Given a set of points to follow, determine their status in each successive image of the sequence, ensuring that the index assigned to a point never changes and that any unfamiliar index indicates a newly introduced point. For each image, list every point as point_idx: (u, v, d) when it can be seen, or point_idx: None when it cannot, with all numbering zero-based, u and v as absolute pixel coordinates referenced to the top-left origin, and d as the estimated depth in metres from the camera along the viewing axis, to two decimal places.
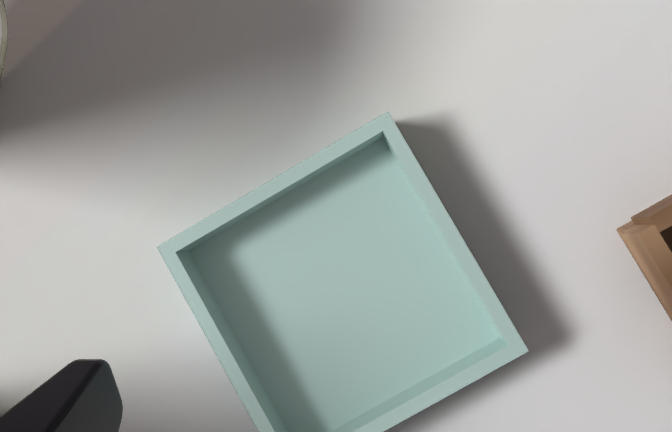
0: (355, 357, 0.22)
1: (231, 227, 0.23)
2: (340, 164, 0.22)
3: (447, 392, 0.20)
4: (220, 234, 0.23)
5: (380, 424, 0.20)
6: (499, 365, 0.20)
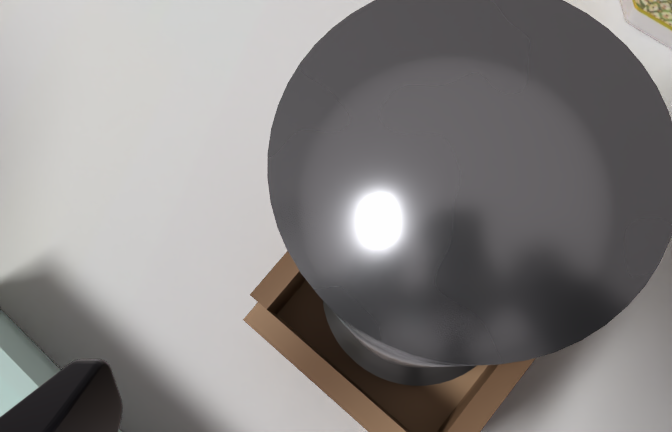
0: None
1: None
2: None
3: None
4: None
5: None
6: None
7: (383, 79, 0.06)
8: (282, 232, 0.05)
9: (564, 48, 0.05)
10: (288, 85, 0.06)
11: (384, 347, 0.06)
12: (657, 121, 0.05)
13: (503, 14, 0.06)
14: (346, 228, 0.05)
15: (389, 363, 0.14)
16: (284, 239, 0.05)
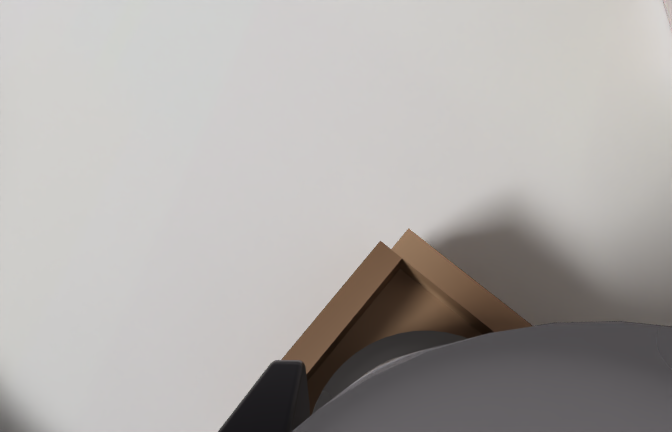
0: None
1: None
2: None
3: None
4: None
5: None
6: None
7: None
8: None
9: None
10: None
11: None
12: None
13: None
14: None
15: None
16: None
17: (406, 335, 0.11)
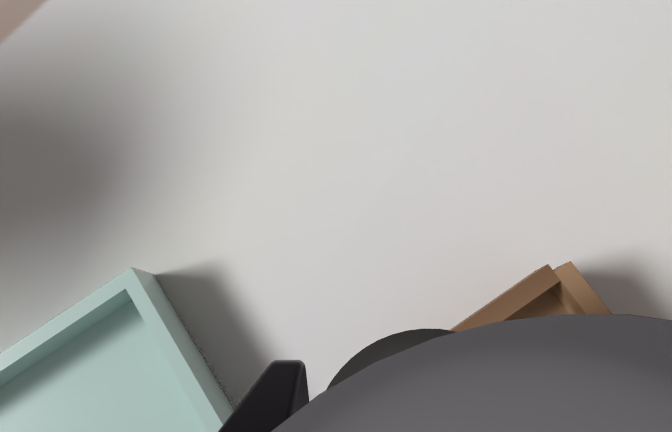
0: None
1: None
2: (99, 324, 0.21)
3: None
4: None
5: None
6: None
7: None
8: None
9: None
10: None
11: None
12: None
13: None
14: None
15: None
16: None
17: (414, 333, 0.11)
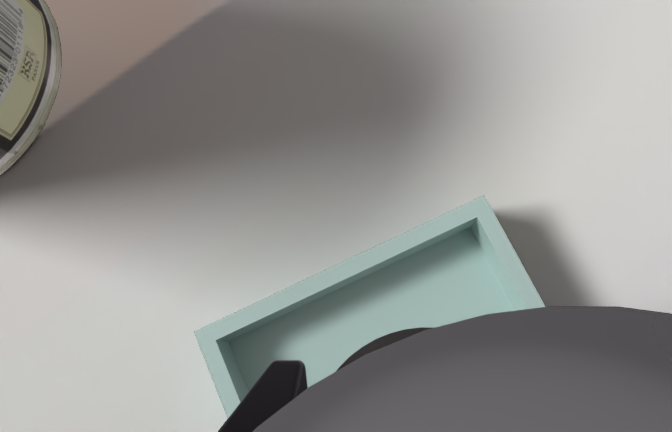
0: None
1: (282, 317, 0.19)
2: (418, 254, 0.19)
3: None
4: (268, 324, 0.19)
5: None
6: None
7: None
8: None
9: None
10: None
11: None
12: None
13: None
14: None
15: None
16: None
17: (412, 331, 0.11)
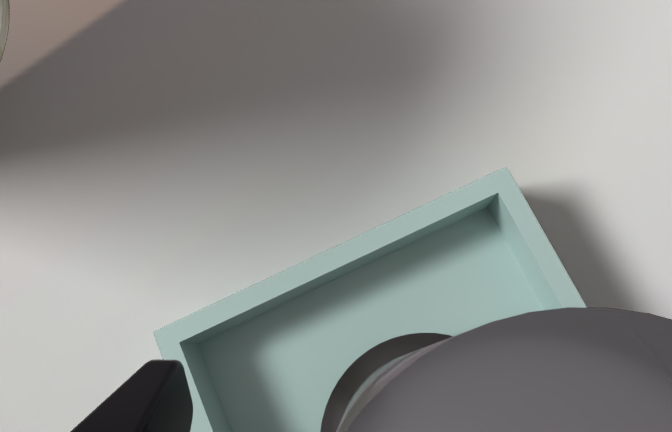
0: None
1: (263, 315, 0.16)
2: (425, 239, 0.16)
3: None
4: (246, 324, 0.16)
5: None
6: None
7: None
8: None
9: None
10: None
11: None
12: None
13: (670, 379, 0.03)
14: None
15: None
16: None
17: (413, 336, 0.12)
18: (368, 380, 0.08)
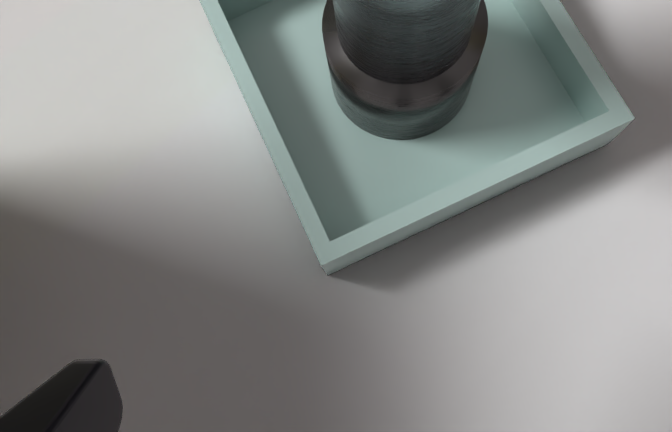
0: (413, 145, 0.18)
1: None
2: None
3: (531, 162, 0.16)
4: (265, 5, 0.20)
5: (445, 196, 0.16)
6: (598, 134, 0.16)
7: None
8: None
9: None
10: None
11: None
12: None
13: None
14: None
15: (378, 81, 0.16)
16: None
17: None
18: None
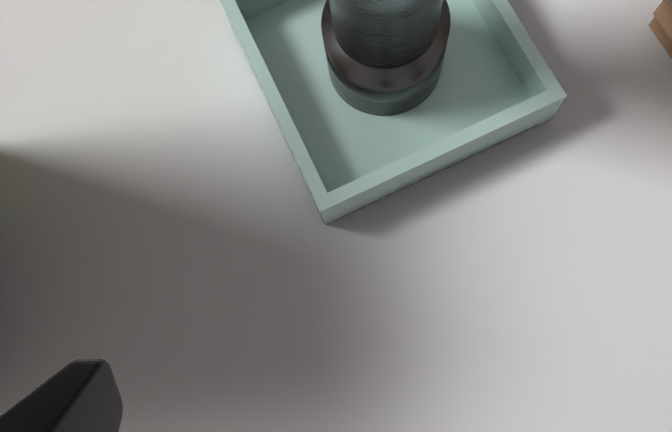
0: (394, 120, 0.23)
1: (285, 2, 0.24)
2: None
3: (486, 130, 0.21)
4: (274, 8, 0.24)
5: (418, 157, 0.21)
6: (538, 108, 0.21)
7: None
8: None
9: None
10: None
11: None
12: None
13: None
14: None
15: (365, 66, 0.20)
16: None
17: None
18: None
